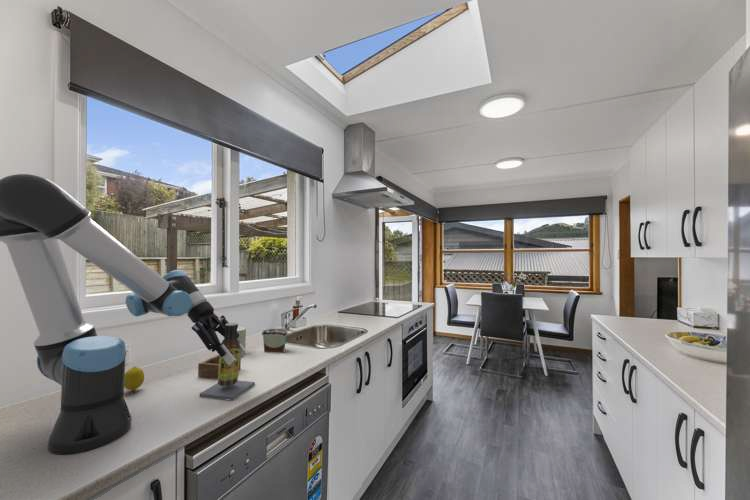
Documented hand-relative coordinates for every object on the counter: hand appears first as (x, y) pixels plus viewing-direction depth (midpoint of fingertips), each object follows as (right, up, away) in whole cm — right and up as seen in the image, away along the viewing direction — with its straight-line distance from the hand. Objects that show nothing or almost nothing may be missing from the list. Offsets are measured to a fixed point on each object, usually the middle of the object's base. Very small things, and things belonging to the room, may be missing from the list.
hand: (238, 358), depth 102 cm
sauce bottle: (-4, -9, 0) cm, 9 cm away
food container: (-2, -12, +45) cm, 46 cm away
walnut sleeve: (-14, -11, +16) cm, 24 cm away
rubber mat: (-4, -11, 0) cm, 11 cm away
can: (-19, -12, +39) cm, 45 cm away
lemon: (-34, -10, -1) cm, 36 cm away
